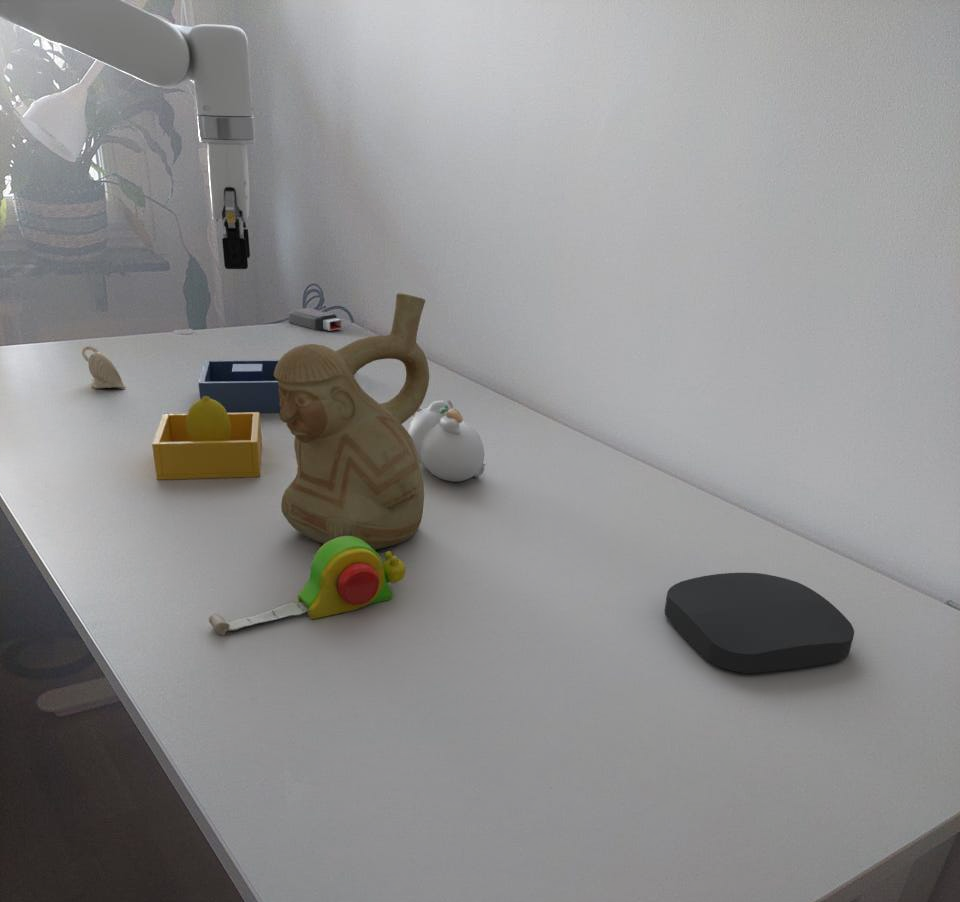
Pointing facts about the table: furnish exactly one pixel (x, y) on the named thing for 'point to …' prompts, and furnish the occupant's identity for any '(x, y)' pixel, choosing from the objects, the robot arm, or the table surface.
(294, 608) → the toy measuring tape
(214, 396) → the blue bin
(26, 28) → the robot arm
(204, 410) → the lemon
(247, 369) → the navy block
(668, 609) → the media streaming box
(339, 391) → the ceramic vessel
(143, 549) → the table surface
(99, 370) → the decorative ornament
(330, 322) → the usb drive
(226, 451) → the yellow bin
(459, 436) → the cat figurine
